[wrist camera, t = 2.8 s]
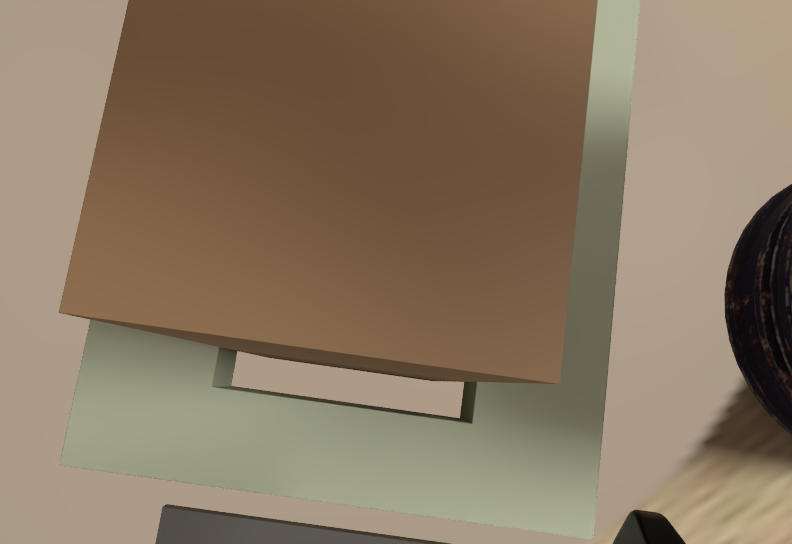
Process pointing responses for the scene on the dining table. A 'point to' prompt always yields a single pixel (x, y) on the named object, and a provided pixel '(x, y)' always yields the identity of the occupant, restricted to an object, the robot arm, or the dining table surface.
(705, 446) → the dining table surface
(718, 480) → the dining table surface
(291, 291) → the wooden block
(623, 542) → the robot arm
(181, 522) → the rubber mat
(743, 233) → the storage jar
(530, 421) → the square socket block
